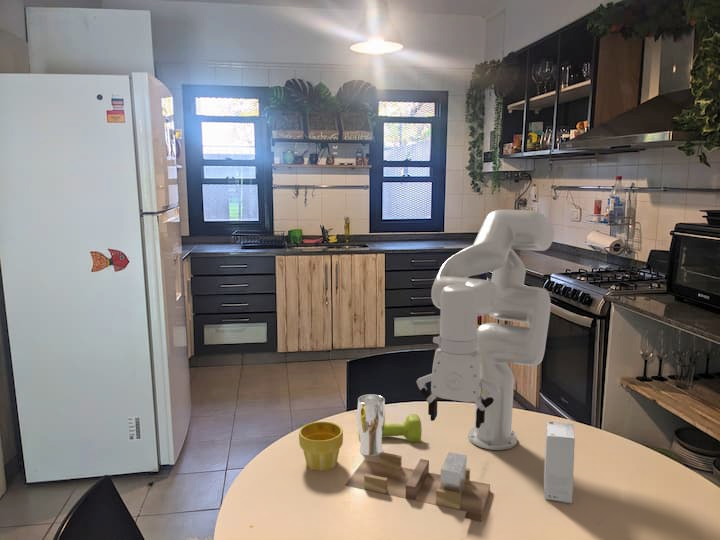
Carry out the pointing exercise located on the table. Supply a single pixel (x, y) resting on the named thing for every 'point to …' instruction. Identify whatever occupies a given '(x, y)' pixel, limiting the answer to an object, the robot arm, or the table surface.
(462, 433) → the table surface
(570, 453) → the skincare box
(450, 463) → the grey rectangular block
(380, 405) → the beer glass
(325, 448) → the plant pot
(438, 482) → the board
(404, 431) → the dumbbell
